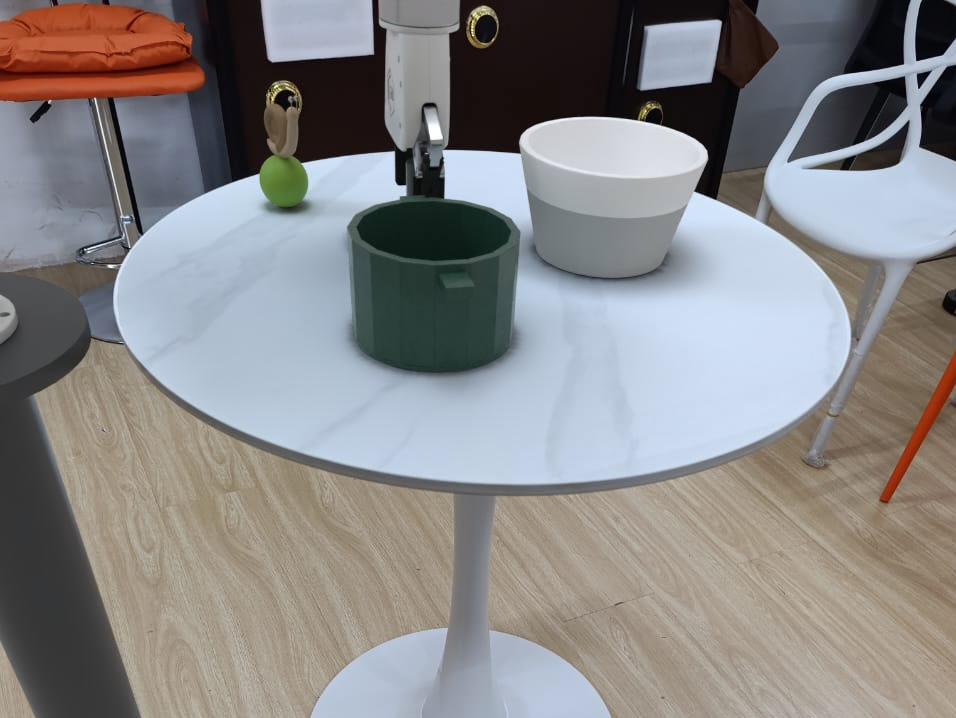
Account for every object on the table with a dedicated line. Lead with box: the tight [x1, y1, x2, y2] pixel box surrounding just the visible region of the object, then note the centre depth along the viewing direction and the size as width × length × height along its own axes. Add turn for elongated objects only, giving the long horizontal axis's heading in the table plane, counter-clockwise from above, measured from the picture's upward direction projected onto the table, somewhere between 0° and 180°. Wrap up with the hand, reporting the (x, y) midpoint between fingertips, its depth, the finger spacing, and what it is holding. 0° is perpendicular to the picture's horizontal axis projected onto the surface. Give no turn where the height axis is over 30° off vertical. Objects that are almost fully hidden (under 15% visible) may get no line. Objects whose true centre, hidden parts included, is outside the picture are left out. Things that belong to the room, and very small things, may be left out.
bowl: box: [518, 116, 709, 279], centre depth 97 cm, size 19×19×11 cm
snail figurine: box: [258, 94, 309, 208], centre depth 101 cm, size 5×6×12 cm
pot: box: [346, 195, 522, 373], centre depth 82 cm, size 15×20×10 cm
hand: (418, 200), depth 97 cm, fingers open, 9 cm apart
